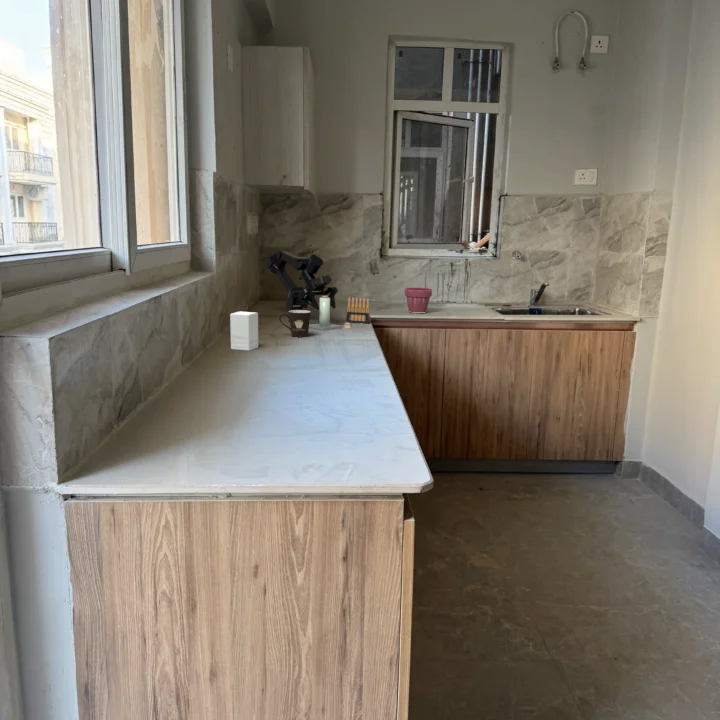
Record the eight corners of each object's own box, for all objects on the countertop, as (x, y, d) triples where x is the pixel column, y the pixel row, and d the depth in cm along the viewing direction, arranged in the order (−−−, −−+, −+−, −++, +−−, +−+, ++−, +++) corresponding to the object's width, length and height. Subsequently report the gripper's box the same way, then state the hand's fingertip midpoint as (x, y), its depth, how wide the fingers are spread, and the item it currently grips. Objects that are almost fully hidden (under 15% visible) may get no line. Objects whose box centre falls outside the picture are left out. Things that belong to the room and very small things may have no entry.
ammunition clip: (369, 323, 284) (370, 297, 281) (368, 324, 282) (369, 298, 280) (347, 322, 286) (347, 296, 284) (346, 322, 284) (346, 296, 282)
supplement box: (259, 347, 219) (258, 312, 216) (248, 351, 212) (248, 314, 209) (240, 345, 221) (240, 310, 218) (229, 349, 214) (229, 313, 211)
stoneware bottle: (319, 325, 265) (319, 296, 262) (319, 324, 270) (319, 295, 267) (329, 326, 265) (329, 296, 263) (329, 324, 270) (330, 295, 267)
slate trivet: (306, 326, 268) (306, 324, 267) (325, 324, 275) (325, 322, 275) (323, 330, 260) (323, 328, 260) (342, 328, 268) (342, 325, 267)
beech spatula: (350, 328, 268) (350, 326, 268) (344, 328, 268) (344, 326, 268) (350, 323, 281) (350, 322, 281) (344, 323, 281) (344, 321, 281)
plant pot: (399, 312, 325) (400, 288, 322) (411, 310, 337) (412, 286, 334) (423, 315, 318) (424, 290, 315) (435, 312, 329) (436, 288, 327)
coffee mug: (314, 336, 246) (314, 311, 244) (303, 339, 238) (303, 313, 236) (289, 333, 250) (289, 308, 248) (277, 336, 243) (278, 311, 241)
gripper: (302, 269, 259) (319, 298, 253) (335, 268, 271) (352, 295, 266) (291, 286, 266) (306, 314, 260) (323, 284, 279) (339, 311, 273)
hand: (327, 308), depth 265 cm, fingers open, 9 cm apart
